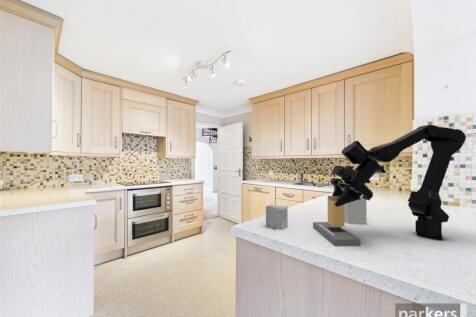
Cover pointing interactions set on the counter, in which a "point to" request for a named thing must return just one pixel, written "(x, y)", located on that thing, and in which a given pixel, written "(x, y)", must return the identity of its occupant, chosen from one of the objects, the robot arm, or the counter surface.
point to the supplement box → (356, 212)
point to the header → (336, 234)
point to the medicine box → (276, 216)
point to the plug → (335, 212)
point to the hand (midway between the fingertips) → (332, 204)
